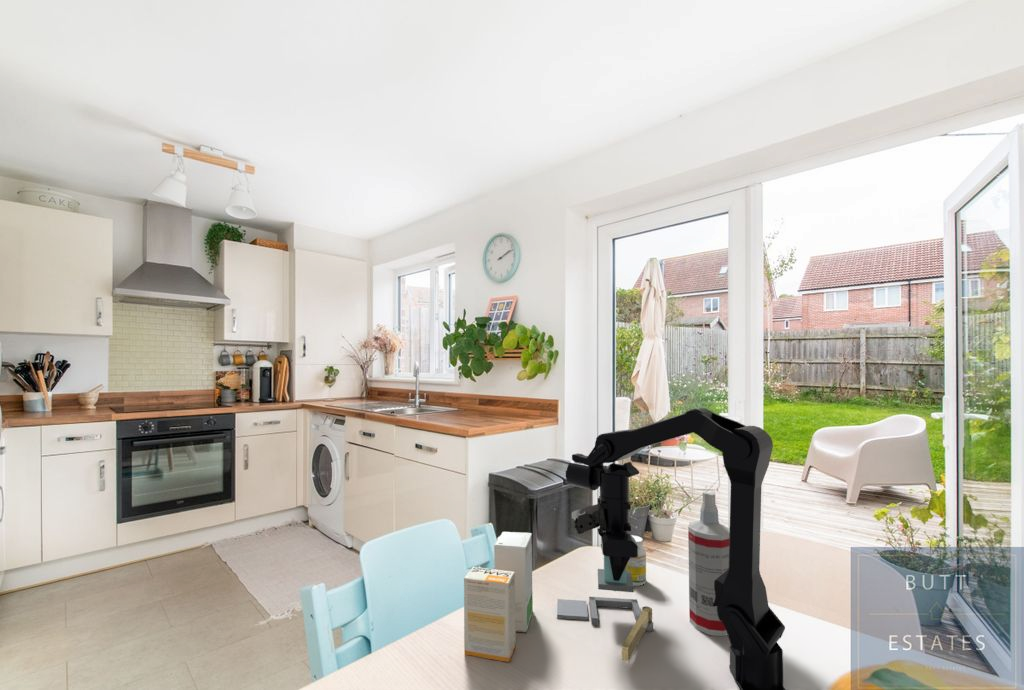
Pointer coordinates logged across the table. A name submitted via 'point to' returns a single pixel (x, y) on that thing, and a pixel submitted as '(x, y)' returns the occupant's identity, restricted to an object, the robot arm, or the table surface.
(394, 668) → the table surface
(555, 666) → the table surface
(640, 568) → the supplement bottle
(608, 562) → the plug
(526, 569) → the skincare box
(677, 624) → the table surface
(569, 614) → the pad
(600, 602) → the socket
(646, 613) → the clip
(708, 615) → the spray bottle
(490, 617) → the supplement box
